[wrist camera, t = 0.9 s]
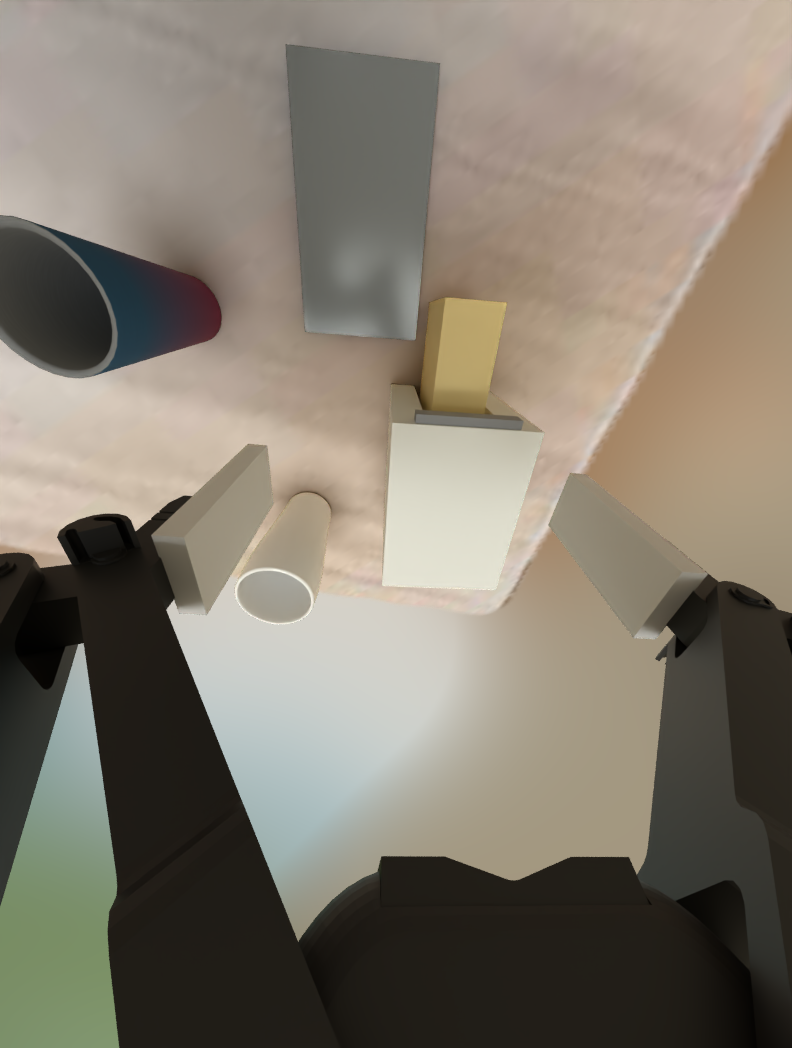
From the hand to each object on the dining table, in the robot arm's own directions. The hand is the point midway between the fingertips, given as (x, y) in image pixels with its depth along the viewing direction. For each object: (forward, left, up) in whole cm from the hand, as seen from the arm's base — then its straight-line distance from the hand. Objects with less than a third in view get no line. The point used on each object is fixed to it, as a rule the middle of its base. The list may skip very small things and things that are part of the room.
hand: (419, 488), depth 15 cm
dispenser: (+6, +4, -22) cm, 23 cm away
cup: (-6, -19, -22) cm, 30 cm away
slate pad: (-13, -4, -22) cm, 26 cm away
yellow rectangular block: (-1, +4, -22) cm, 23 cm away
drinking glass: (+14, -10, -22) cm, 28 cm away
